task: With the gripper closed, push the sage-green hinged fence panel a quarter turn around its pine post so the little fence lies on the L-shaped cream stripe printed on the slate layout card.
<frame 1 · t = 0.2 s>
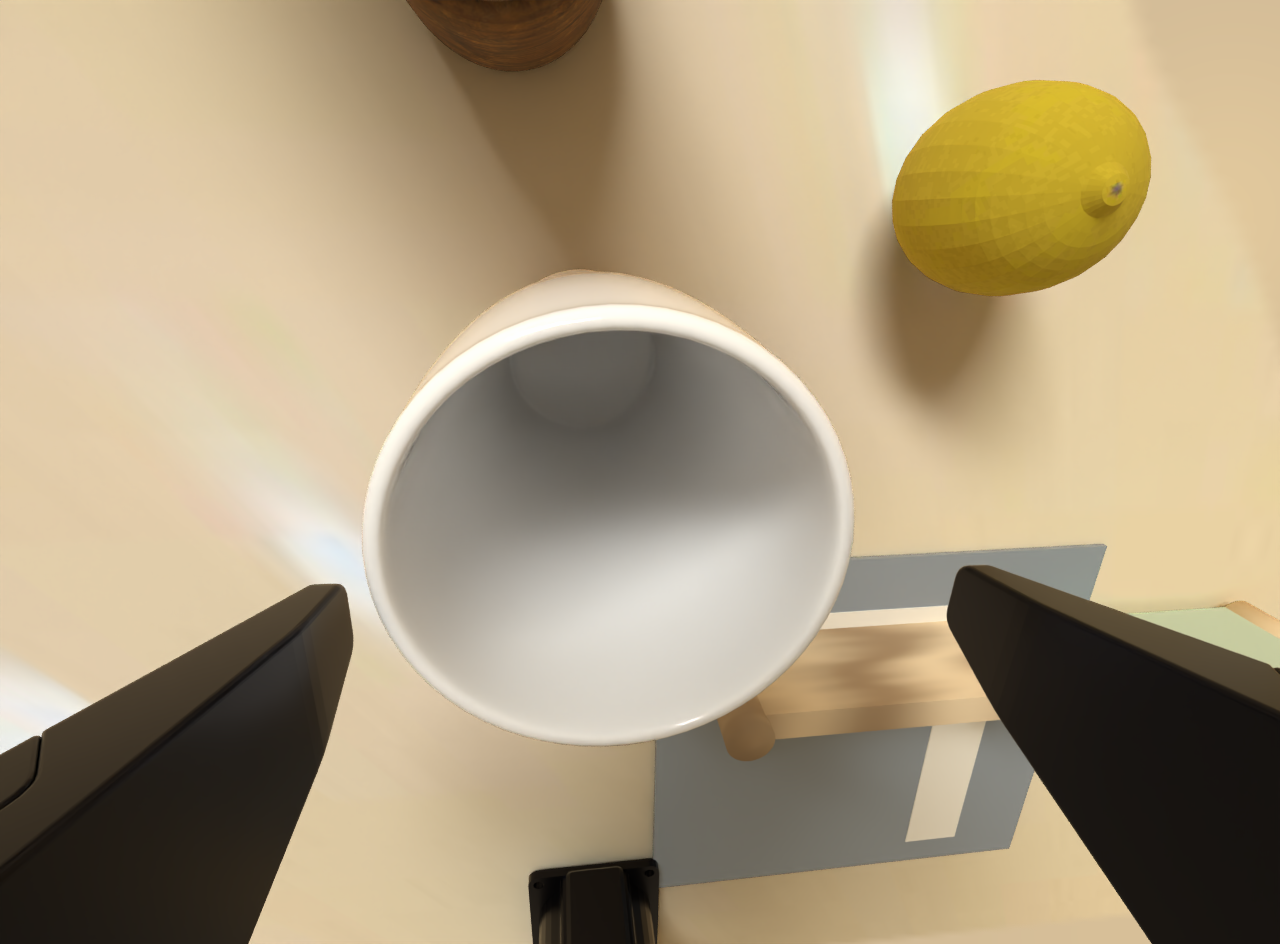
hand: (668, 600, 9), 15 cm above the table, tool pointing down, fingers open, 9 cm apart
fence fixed: (980, 626, 29), resting on layout card
white tumbler: (581, 346, 22), on the table
layout card: (860, 727, 31), on the table
lemon: (925, 199, 22), on the table
fence panel: (1186, 658, 27), point 3 cm above the table, hinge at 0.0°
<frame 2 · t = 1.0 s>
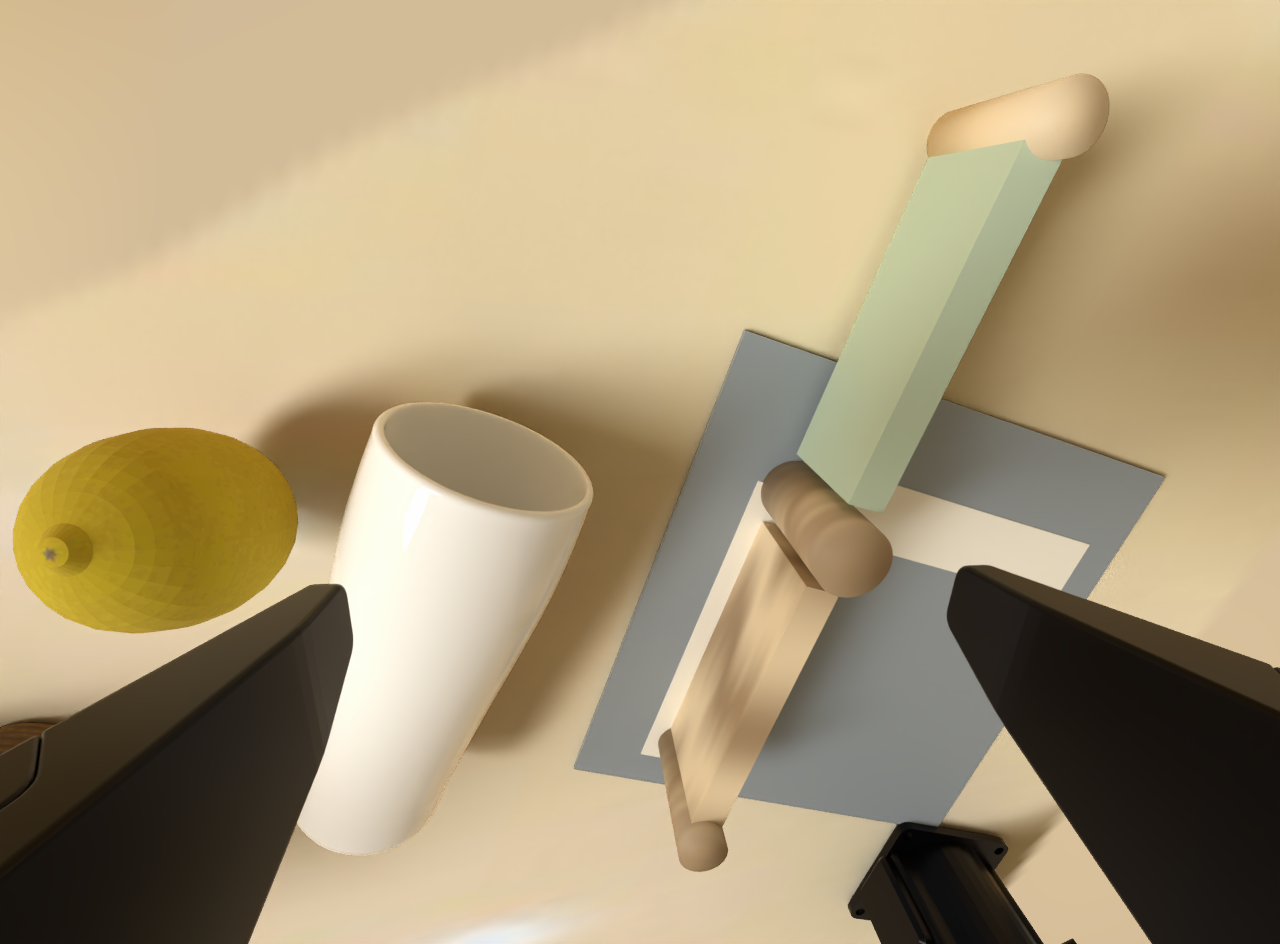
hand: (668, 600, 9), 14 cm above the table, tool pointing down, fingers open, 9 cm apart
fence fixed: (789, 488, 24), resting on layout card
utensil holder: (56, 772, 25), on the table
white tumbler: (362, 798, 24), point 3 cm above the table
layout card: (857, 625, 27), on the table
lemon: (261, 509, 22), on the table
fence panel: (921, 308, 19), point 3 cm above the table, hinge at 0.0°
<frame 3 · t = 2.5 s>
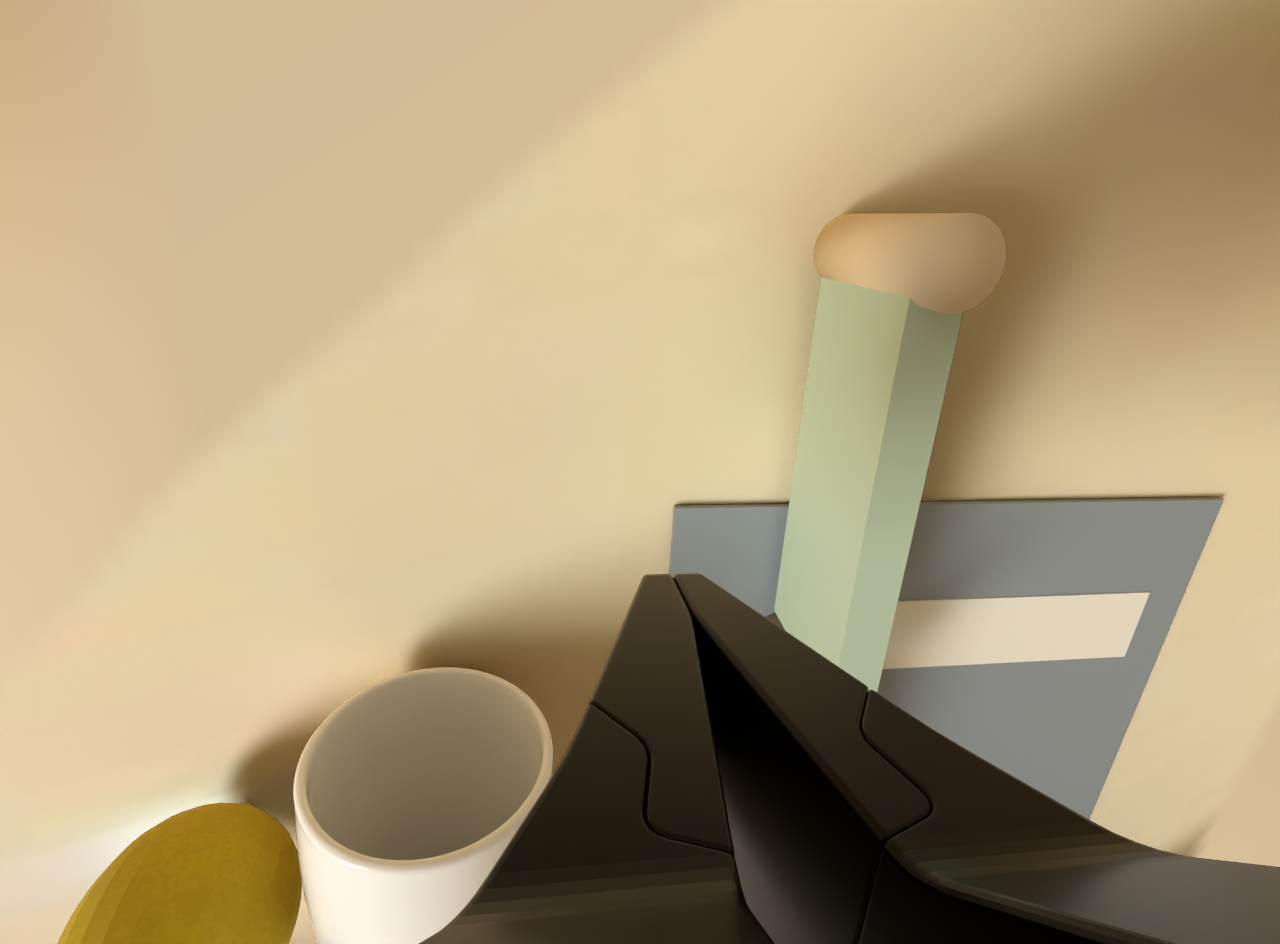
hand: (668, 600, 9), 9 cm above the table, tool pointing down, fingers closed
layout card: (902, 739, 24), on the table
lemon: (250, 801, 22), on the table
fence panel: (856, 467, 16), point 3 cm above the table, hinge at 0.0°
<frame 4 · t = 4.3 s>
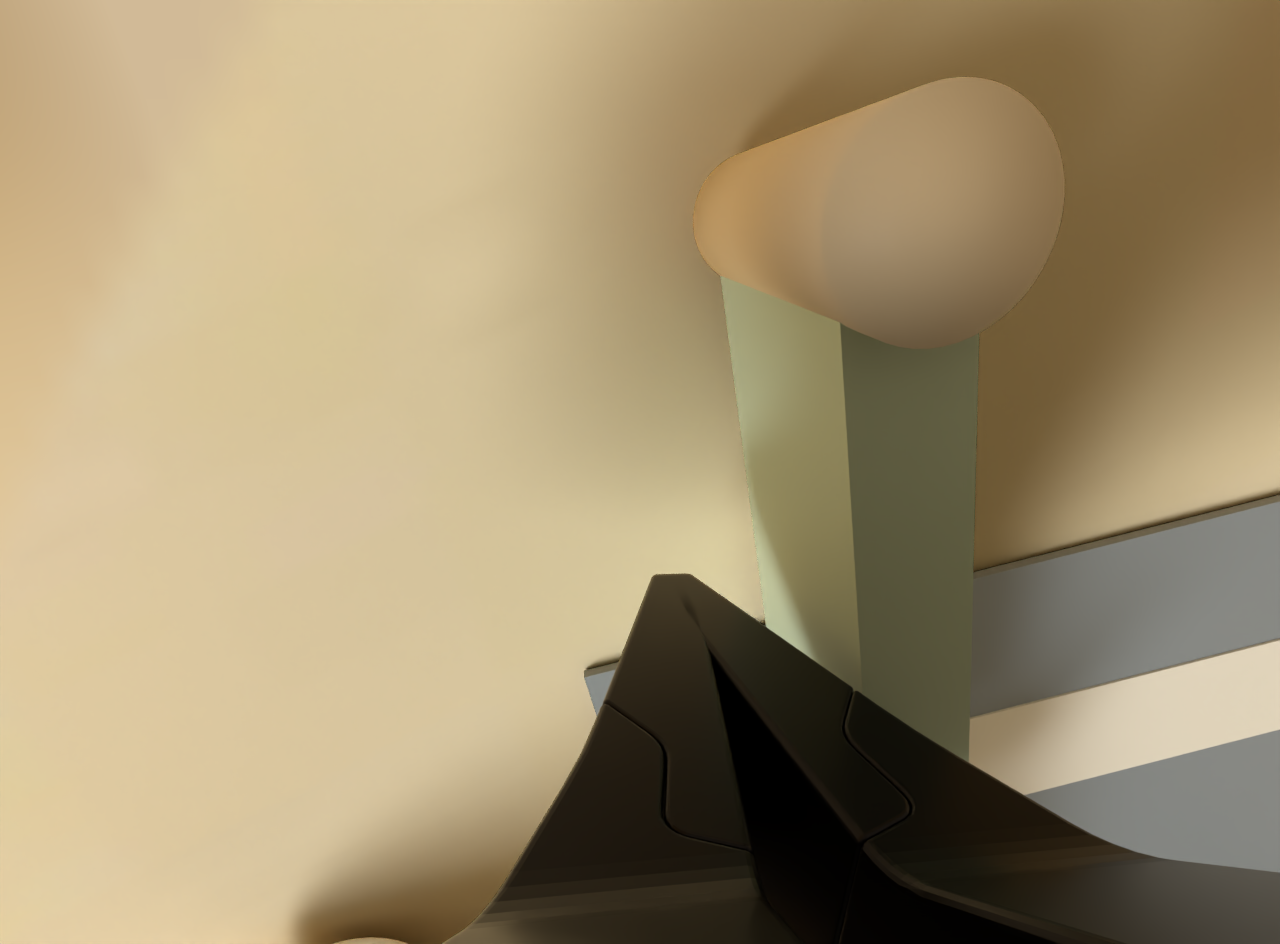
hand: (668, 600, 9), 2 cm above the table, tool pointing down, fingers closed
layout card: (1035, 878, 16), on the table
fence panel: (844, 606, 9), point 3 cm above the table, hinge at 2.2°, touching gripper
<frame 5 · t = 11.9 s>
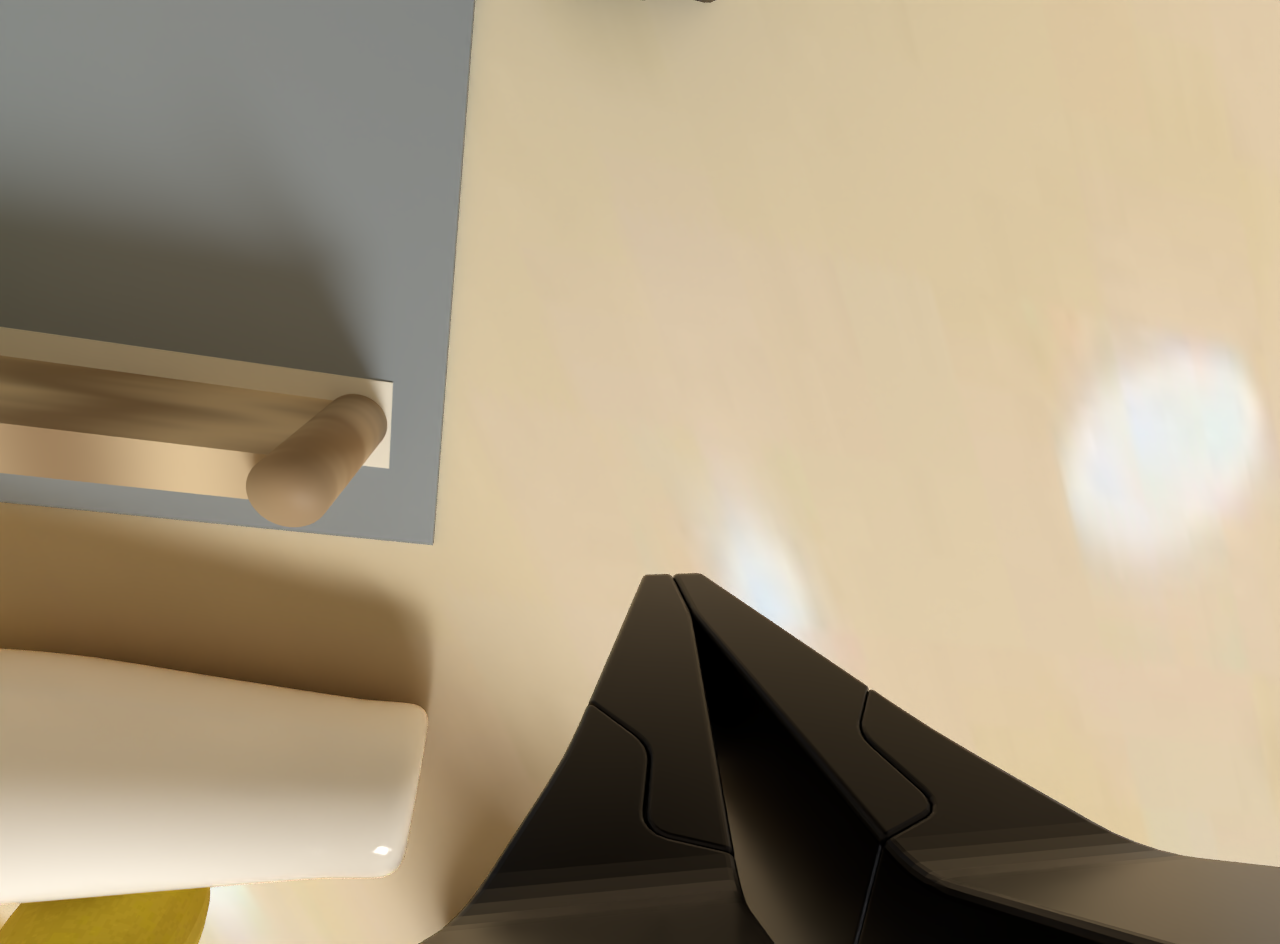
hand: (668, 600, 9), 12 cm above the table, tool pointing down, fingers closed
white tumbler: (423, 787, 22), point 3 cm above the table
layout card: (58, 178, 16), on the table
lemon: (173, 830, 25), on the table
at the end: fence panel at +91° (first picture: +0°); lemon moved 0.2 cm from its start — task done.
